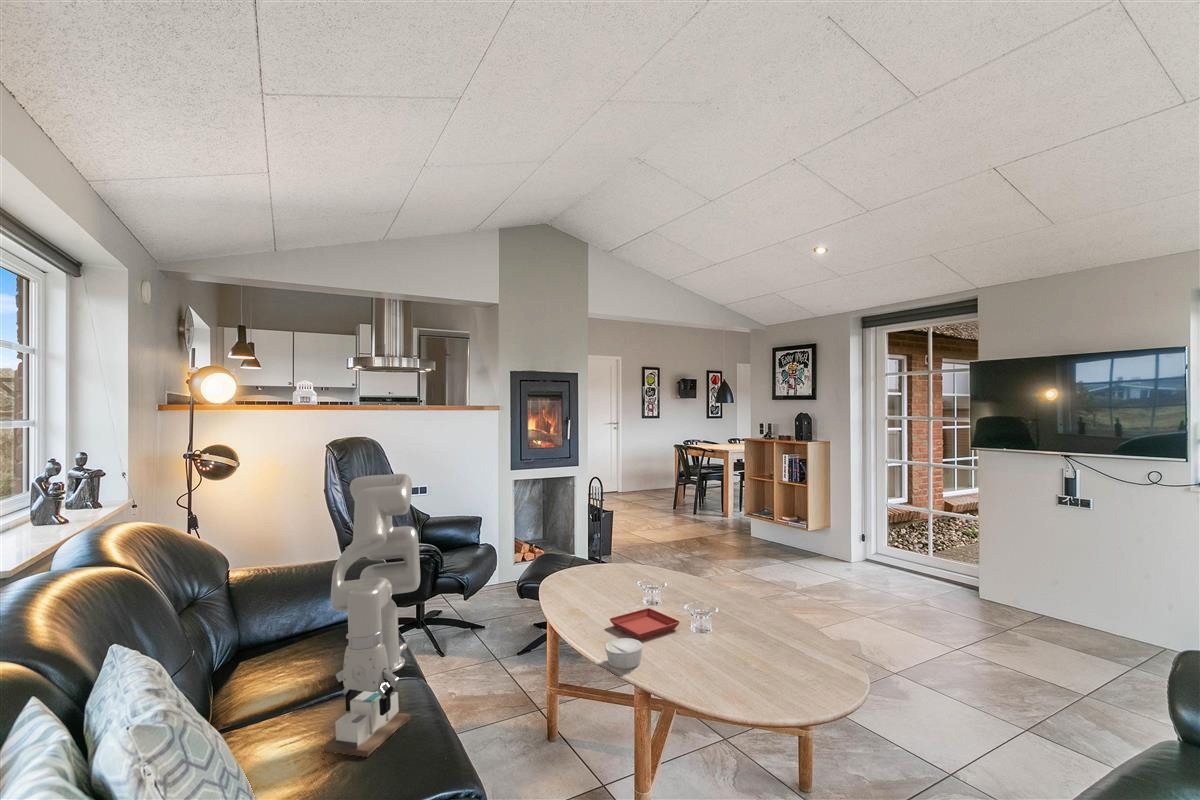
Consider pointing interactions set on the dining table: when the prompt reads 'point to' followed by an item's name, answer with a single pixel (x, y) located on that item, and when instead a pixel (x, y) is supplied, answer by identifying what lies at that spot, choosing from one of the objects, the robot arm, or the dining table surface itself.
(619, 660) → the ramekin
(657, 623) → the plant saucer
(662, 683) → the dining table surface
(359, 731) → the mounted modules
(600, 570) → the dining table surface
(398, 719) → the board
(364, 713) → the block
